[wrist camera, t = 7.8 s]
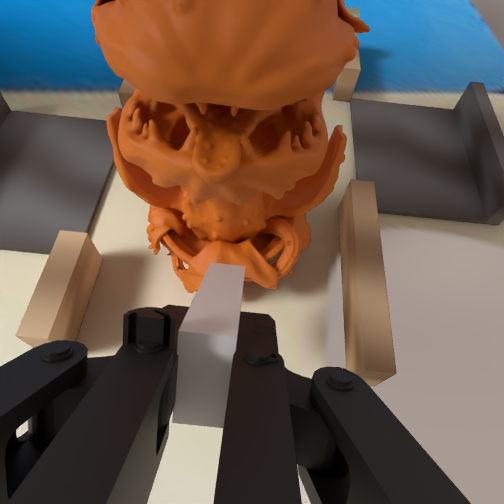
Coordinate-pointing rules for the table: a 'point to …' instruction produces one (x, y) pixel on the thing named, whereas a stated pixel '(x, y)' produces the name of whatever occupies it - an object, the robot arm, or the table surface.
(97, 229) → the table surface
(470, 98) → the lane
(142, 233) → the table surface
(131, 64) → the orange sculpted figure
